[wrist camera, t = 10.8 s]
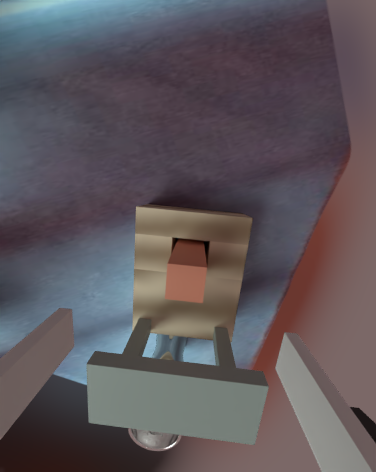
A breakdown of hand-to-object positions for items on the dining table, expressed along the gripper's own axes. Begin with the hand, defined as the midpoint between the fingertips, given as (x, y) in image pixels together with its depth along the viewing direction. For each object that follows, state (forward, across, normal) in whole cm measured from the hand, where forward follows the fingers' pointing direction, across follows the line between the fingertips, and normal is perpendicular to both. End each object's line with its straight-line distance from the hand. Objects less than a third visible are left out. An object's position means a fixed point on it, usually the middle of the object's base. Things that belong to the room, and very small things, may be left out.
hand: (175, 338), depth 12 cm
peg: (+22, 0, 0) cm, 22 cm away
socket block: (+22, 0, -4) cm, 22 cm away
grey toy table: (+16, 0, -10) cm, 19 cm away
